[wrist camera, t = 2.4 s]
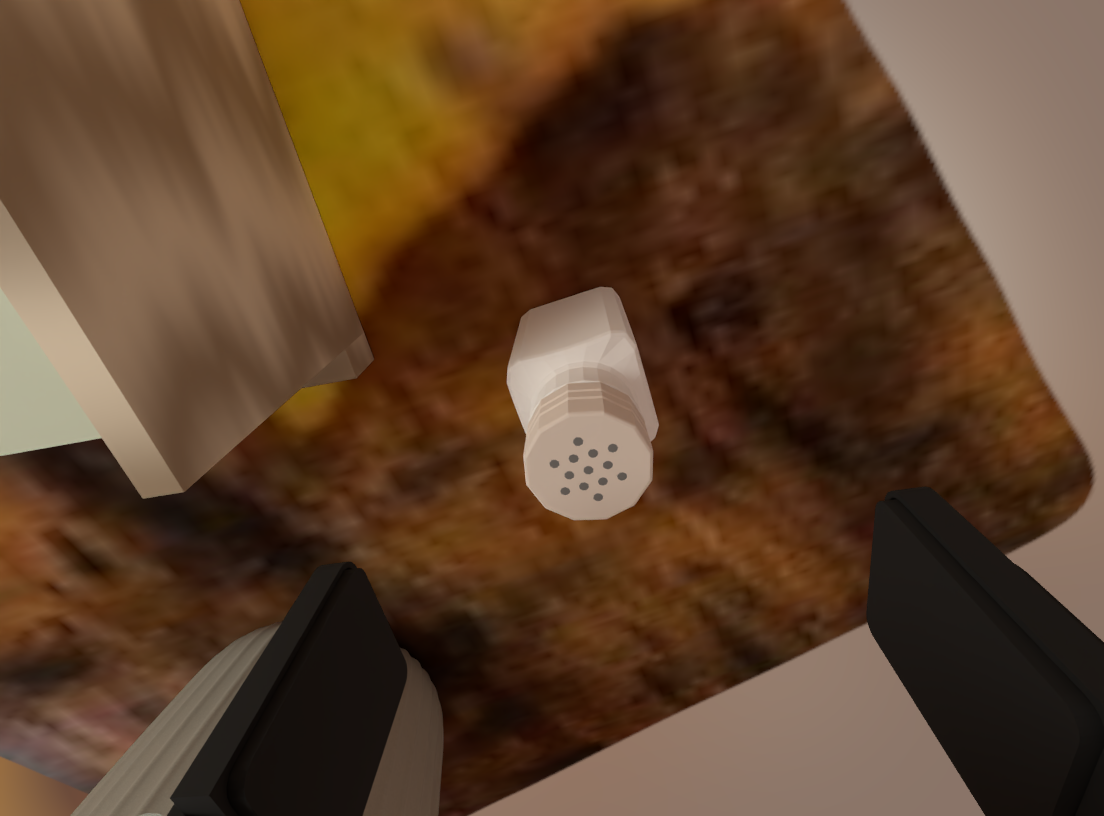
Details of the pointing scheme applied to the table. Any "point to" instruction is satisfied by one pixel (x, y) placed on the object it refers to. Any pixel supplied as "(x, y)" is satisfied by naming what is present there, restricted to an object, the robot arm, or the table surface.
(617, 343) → the pepper shaker
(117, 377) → the stand
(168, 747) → the canister
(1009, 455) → the table surface
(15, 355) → the trapdoor
